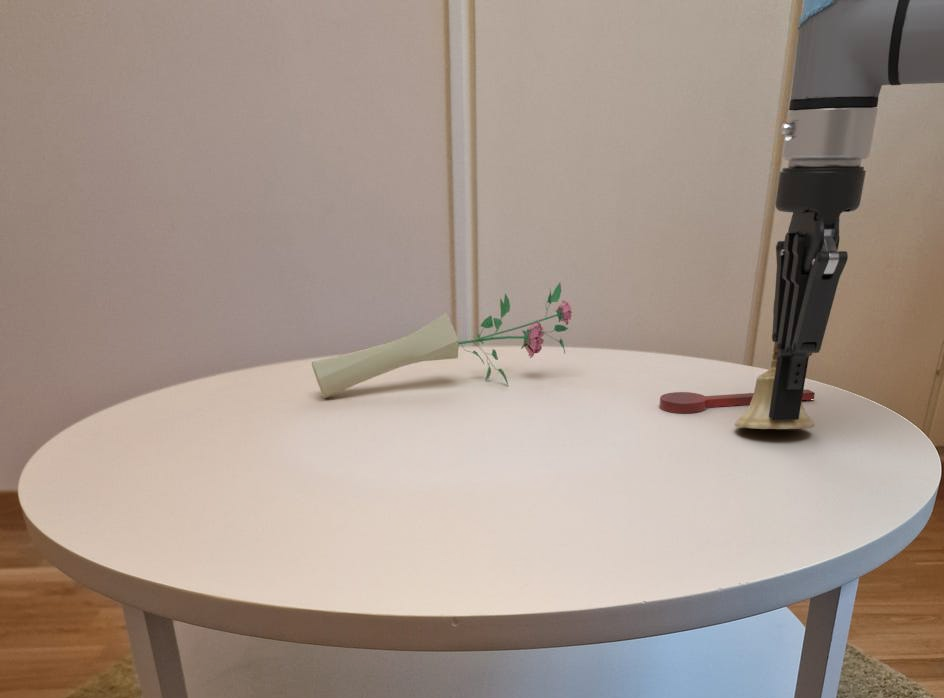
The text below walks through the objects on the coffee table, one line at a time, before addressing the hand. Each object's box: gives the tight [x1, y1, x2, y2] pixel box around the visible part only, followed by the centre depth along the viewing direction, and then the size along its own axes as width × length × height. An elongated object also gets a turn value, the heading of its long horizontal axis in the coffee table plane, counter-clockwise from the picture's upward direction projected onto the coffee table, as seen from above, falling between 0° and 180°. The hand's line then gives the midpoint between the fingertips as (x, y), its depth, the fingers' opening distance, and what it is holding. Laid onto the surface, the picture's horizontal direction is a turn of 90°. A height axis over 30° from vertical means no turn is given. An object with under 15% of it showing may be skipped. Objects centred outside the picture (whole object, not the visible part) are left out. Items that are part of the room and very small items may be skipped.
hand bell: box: [734, 298, 815, 430], centre depth 94 cm, size 8×8×16 cm
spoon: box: [659, 389, 816, 414], centre depth 108 cm, size 19×6×1 cm, turn 98°
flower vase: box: [311, 282, 573, 400], centre depth 119 cm, size 12×12×35 cm
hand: (783, 417), depth 93 cm, fingers closed
